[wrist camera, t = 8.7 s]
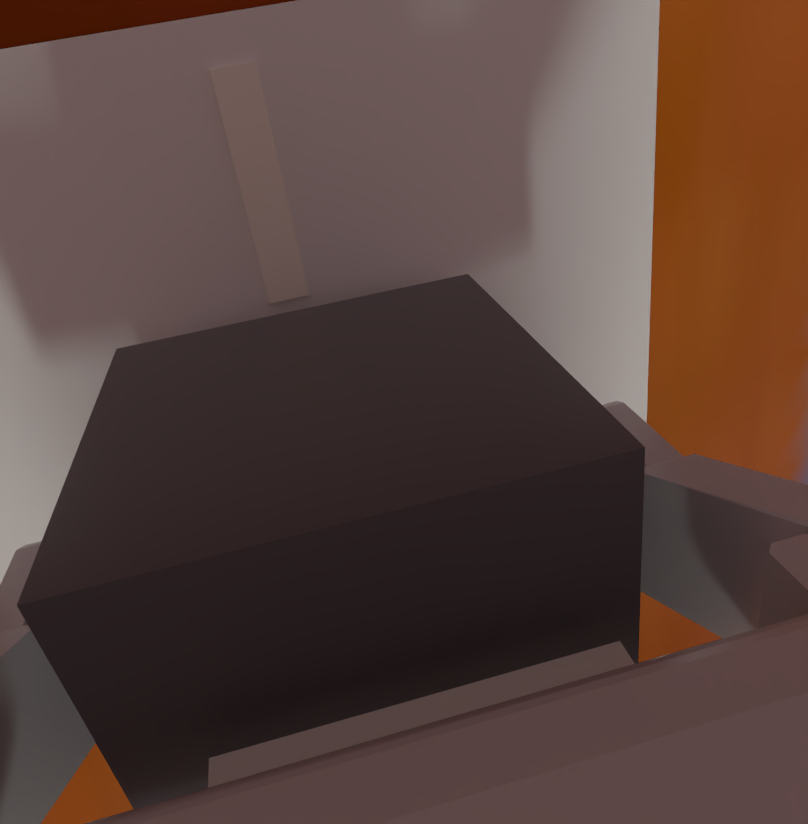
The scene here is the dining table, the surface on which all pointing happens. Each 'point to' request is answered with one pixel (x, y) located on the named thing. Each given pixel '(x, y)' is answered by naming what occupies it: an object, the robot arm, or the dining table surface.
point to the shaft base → (316, 190)
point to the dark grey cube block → (333, 536)
